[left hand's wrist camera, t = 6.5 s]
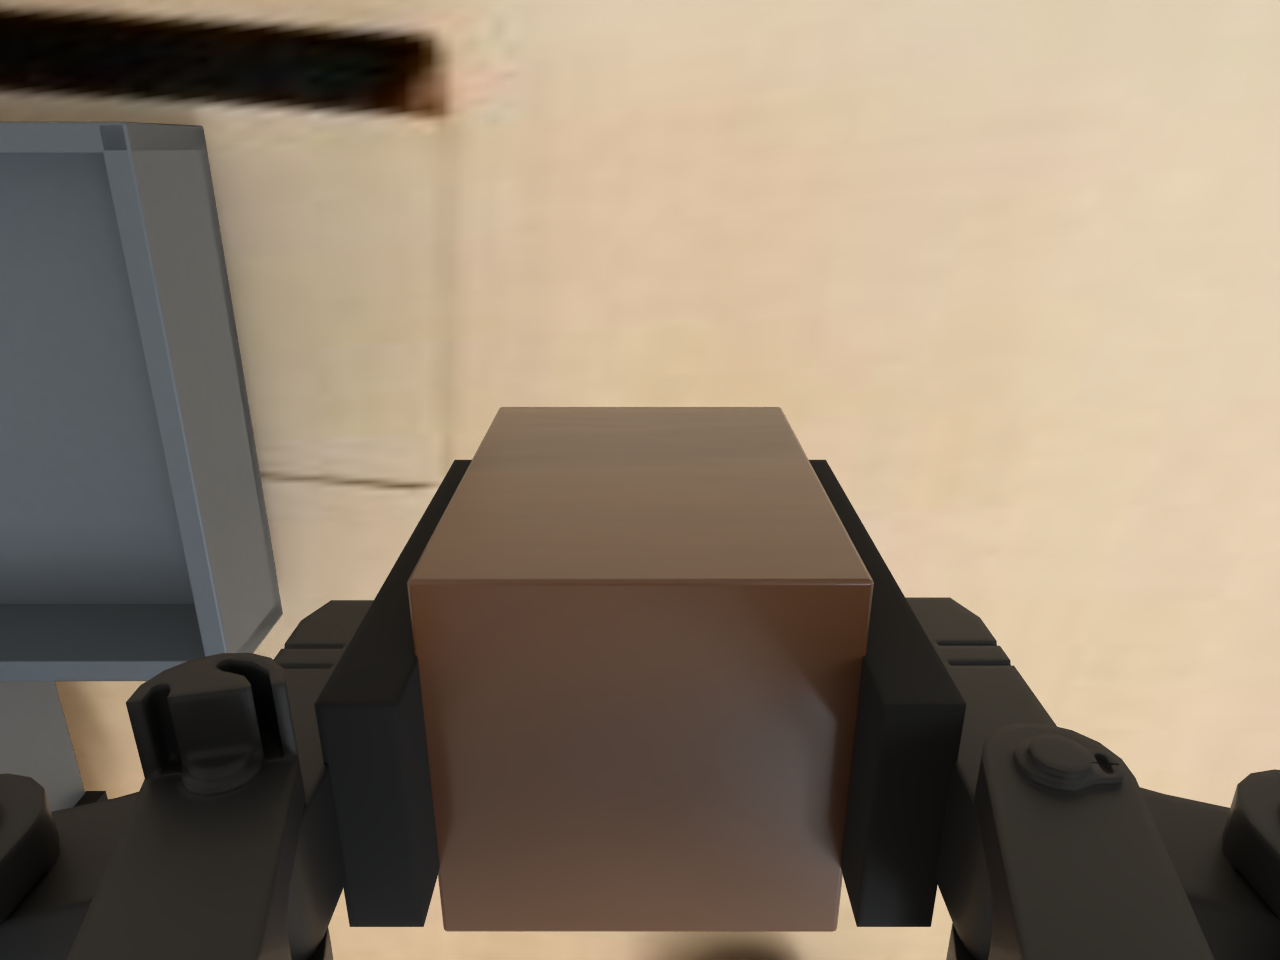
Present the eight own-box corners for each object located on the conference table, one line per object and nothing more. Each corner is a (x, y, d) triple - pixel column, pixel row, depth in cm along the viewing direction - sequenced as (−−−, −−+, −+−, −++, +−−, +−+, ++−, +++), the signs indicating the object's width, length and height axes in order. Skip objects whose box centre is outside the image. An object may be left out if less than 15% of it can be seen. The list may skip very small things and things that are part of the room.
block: (499, 406, 14) (405, 580, 8) (781, 406, 14) (876, 580, 8) (514, 650, 16) (442, 933, 10) (766, 650, 16) (837, 933, 10)
